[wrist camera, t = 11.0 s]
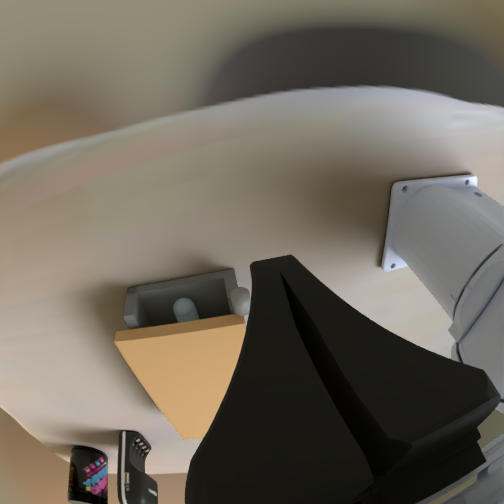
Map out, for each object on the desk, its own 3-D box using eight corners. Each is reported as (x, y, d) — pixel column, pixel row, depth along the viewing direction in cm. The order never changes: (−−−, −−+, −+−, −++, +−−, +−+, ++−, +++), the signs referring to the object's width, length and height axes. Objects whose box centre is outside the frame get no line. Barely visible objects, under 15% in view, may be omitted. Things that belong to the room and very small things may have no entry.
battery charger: (157, 446, 39) (161, 514, 29) (134, 447, 38) (135, 513, 29) (143, 429, 35) (145, 506, 25) (117, 429, 34) (116, 504, 25)
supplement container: (110, 460, 42) (109, 511, 33) (74, 454, 40) (71, 504, 31) (107, 449, 38) (106, 506, 30) (68, 441, 36) (63, 497, 28)
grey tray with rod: (241, 261, 22) (250, 298, 19) (264, 402, 34) (271, 430, 31) (126, 282, 22) (118, 320, 18) (193, 413, 34) (196, 442, 30)
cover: (242, 312, 20) (244, 323, 20) (263, 421, 31) (265, 428, 30) (116, 331, 20) (113, 341, 19) (183, 431, 30) (183, 439, 29)
